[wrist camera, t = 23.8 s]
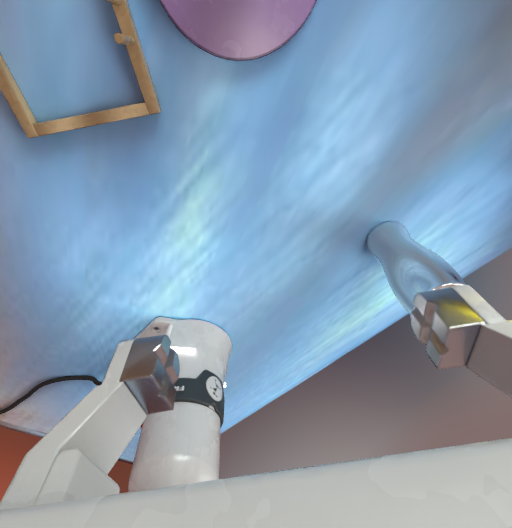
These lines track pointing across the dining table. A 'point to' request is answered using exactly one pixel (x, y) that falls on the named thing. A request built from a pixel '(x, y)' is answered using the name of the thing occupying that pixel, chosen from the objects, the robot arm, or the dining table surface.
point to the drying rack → (129, 37)
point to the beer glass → (409, 263)
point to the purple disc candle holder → (239, 24)
